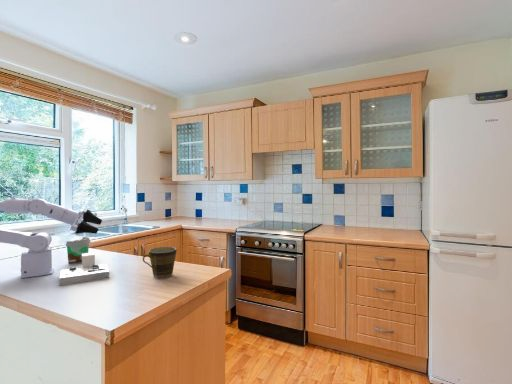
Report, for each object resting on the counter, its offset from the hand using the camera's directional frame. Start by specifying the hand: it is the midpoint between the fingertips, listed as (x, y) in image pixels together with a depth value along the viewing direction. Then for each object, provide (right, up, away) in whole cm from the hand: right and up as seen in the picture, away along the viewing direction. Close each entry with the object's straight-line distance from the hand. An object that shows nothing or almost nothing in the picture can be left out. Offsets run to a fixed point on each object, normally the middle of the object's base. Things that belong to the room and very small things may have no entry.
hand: (99, 226), depth 121 cm
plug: (-2, -17, -4) cm, 18 cm away
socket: (+2, -17, -14) cm, 22 cm away
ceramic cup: (+30, -17, -14) cm, 38 cm away
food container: (-13, -17, +10) cm, 24 cm away
